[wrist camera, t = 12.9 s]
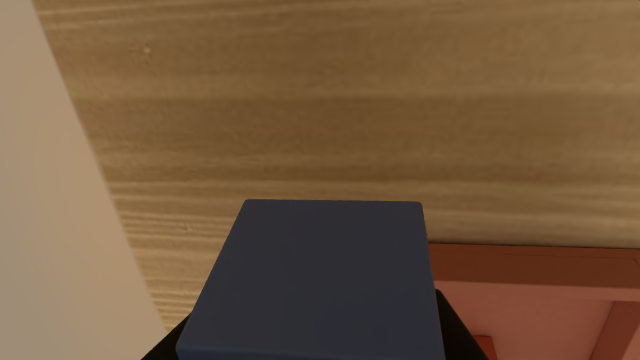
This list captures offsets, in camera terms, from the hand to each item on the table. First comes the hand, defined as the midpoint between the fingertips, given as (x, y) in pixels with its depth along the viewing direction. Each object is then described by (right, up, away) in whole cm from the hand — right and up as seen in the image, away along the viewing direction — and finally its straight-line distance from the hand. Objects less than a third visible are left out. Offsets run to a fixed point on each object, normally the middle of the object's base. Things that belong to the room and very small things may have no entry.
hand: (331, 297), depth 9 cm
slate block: (0, +1, +1) cm, 1 cm away
